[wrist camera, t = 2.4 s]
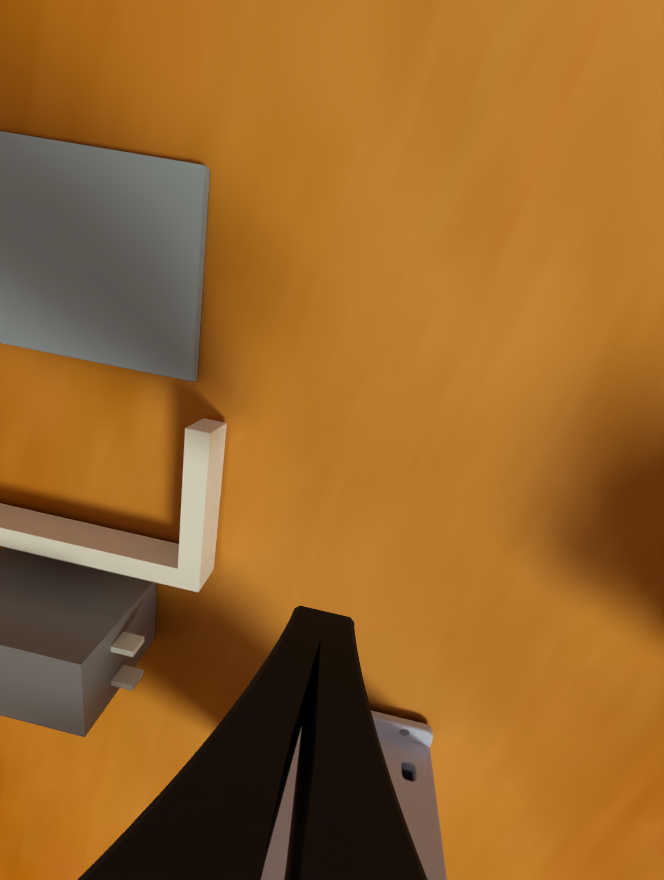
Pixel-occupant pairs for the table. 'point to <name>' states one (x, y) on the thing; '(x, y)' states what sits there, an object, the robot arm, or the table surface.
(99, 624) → the lead plug
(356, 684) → the robot arm
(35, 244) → the slate pad
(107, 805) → the table surface
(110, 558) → the white angled bracket
